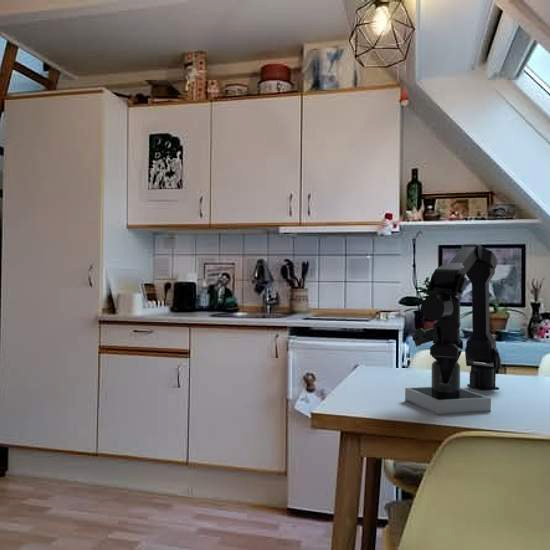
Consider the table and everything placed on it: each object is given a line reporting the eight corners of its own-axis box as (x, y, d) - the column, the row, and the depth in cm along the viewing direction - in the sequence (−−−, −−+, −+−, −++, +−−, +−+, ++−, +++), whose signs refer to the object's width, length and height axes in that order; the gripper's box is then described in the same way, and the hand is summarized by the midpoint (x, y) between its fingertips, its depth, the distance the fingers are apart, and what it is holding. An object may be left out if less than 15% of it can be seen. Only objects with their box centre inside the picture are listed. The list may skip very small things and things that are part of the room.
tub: (453, 398, 139) (454, 385, 139) (490, 412, 125) (490, 398, 125) (405, 401, 135) (405, 387, 135) (437, 415, 121) (437, 400, 121)
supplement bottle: (465, 399, 130) (466, 351, 129) (449, 403, 125) (450, 354, 125) (441, 393, 135) (442, 347, 135) (425, 397, 131) (426, 350, 130)
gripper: (420, 314, 142) (419, 371, 142) (408, 319, 125) (407, 384, 125) (463, 316, 137) (462, 375, 137) (457, 321, 120) (456, 389, 120)
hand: (446, 380), depth 130 cm, fingers closed on supplement bottle, 7 cm apart
